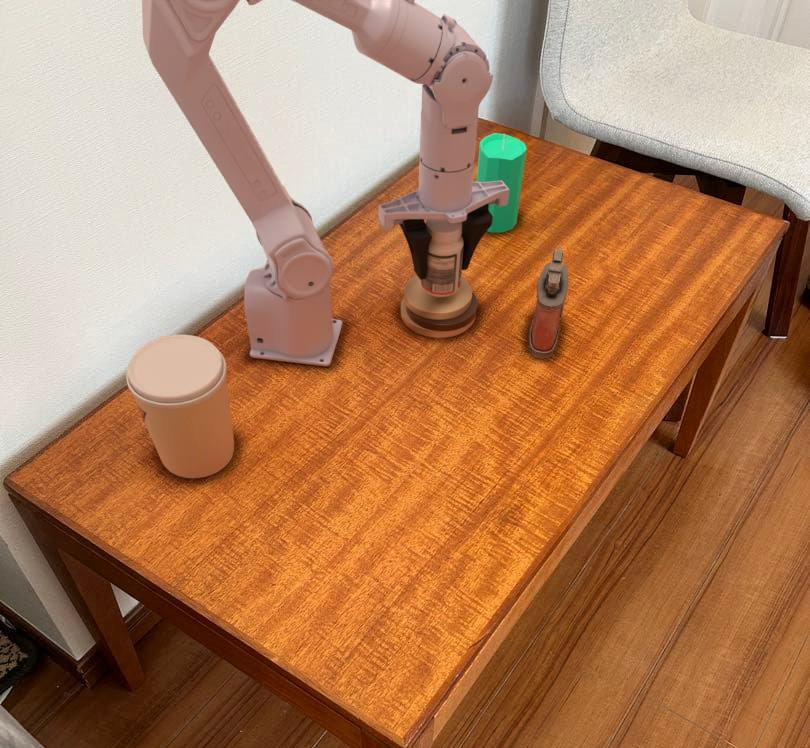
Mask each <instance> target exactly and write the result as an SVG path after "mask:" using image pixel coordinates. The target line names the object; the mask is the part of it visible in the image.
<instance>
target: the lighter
mask: <svg viewBox="0 0 810 748" xmlns="http://www.w3.org/2000/svg"><path fill="white" fill-rule="evenodd" d="M564 254H565V253H564V250H563V249H562V248H555V249H554V250H553V252H552V255H551V262H547V263H546V264H544V266H543V267H542V270H541V272H540V275H539V278H538V282H537V289H536V304H535V308H534V316H533V318H532V321H531V324H530V327H529V333H528V334H529V335H528V344H529V345H528V347H529V352H530V355H532V356H533V357H535V358H539V359H547V358H550V357H551V356H552V355H553V353H554V351H555V348H556V346H557V343H558V338H559V333H560V321H561V319H562V316H563V313H564V308H565V304H566V299H567V298H566V297H567V294H568V290H569V280H570V278H569V271H568V267H567V266H566V265H565V264H563V260H564Z"/></svg>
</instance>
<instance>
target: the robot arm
mask: <svg viewBox="0 0 810 748" xmlns="http://www.w3.org/2000/svg"><path fill="white" fill-rule="evenodd" d="M240 1H241V0H141V13H142V15H141V17H142V19H141V20H142V38H143V42H144V46H145V49H146V51H147V54H148V56H149V59H150V62H151V64H152V66H153V67H154V69H155V71H156V72H157V74H158V76H159V77H160V78H161V81H162V82H163V83H164V85H165V87H166V88H167V90H168V92H169V93H170V95H171V96H172V98H173V99H174V101H175V103H176V104H177V106H178V107H179V109H180V111H181V112H182V114H183V116H184V117H185V118H186V120H187V122H188V123H189V125H190V127H191V128H192V130H193V132H194V133H195V135H196V136H197V138H198V139H199V141H200V142H201V144H202V146H203V148H204V149H205V151H206V152H207V154H208V155H209V157H210V158H211V160H212V162H213V163H214V165H215V166H216V168H217V169H218V171H219V173H220V175H221V176H222V178H223V179H224V181H225V183H226V184H227V186H228V187H229V189H230V190H231V192H232V194H233V195H234V197H235V198H236V200H237V202H238V203H239V205H240V207H241V208H242V209H243V211H244V213H245V215H246V216H247V217H248V219H249V221H250V222H251V224H252V226H253V227H254V230H255V234H256V238H257V240H258V243H260V246H261V247H262V250H263V252H264V254H265V256H266V262H265V264H264V267H262V268H261V267H259V268H252V269H251V270H249V272H248V275H247V277H246V281H245V284H244V293H243V295H244V296H243V306H244V313H245V320H246V327H247V331H248V337H249V338H248V339H249V344H250V350H249V357H251V358H253V359H262V360H268V361H269V360H270V361H276V362H277V361H278V362H287V363H294V364H305V365H311V366H321V367H329V366H330V365H331V363H332V360H333V357H334V353H335V352H336V351H335V350H336V347H337V344H338V341H339V338H340V335H341V331H342V329H343V325H344V324H343V323H344V322H343V320H342V319H338V318H337V319H336V318H333V305H332V304H333V303H332V289H331V281H332V280H333V276H334V273H335V272H334V271H335V267H334V265H335V264H334V260H333V259H332V257H331V255H330V253H329V252H328V251H327V250H326V247H325V246H324V244H323V242H322V240H321V237H320V235H319V233H318V231H317V229H316V227H315V225H314V222H313V217H312V215H311V214H310V211H309V210H308V209H307V207H306V206H304V205H303V204H301V203H300V202H298V201H296V200H295V199H293V197H292V196H291V195H290V194H289V193H288V190H287V188H286V187H285V185H283V183H282V182H281V179H280V178H279V176H278V174H277V173H276V171H275V169H274V168H273V166H272V164H271V162H270V160H269V159H268V156H267V155H266V153H265V152H264V150H263V148H262V146H261V144H260V142H259V141H258V139H257V137H256V136H255V134H254V132H253V130H252V128H251V126H250V125H249V123H248V121H247V120H246V118H245V116H244V113H242V110H241V108H240V107H239V105H238V103H237V101H236V100H235V98H234V96H233V94H232V93H231V91H230V89H229V87H228V85H227V83H226V82H225V80H224V78H223V76H222V75H221V73H220V72H219V70H218V68H217V66H216V64H215V62H214V60H213V58H212V57H211V55H210V51H211V48H212V45H213V42H214V39H215V37H216V34H217V32H218V30H220V28H221V27H222V25H223V24H224V22H225V21H227V19H228V17H229V16H230V15H231V13H233V11H234V10H235V8H236V7H237V6H238V4H239V3H240ZM262 1H263V0H246V3H247V5H249V6H255V5H257V4H258V3H261V2H262ZM291 1H292V2H294V3H296V4H299V5H300V6H302V7H304V8H306V9H308V10H310V11H312V12H314V13H316V14H318V15H320V16H321V17H324V18H326V19H328V20H330V21H332V22H334V23H336V24H338V25H340V26H342V27H344V28H346V29H348V30H350V31H351V34H352V39H353V41H354V42H353V43H354V46H355V49H356V50H357V52H358V53H360V54H361V55H363V56H365V57H366V58H369V59H370V60H373V61H374V62H376V63H378V64H379V65H381V66H383V67H385V68H387V69H389V70H390V71H392V72H394V73H396V74H397V75H399V76H402V77H403V78H405V79H407V80H409V81H410V82H412V83H414V84H418V85H421V109H420V110H421V111H420V129H419V132H420V133H419V161H418V162H419V163H418V165H419V167H418V188H417V189H415V190H413V191H411V192H409V193H407V194H404V195H402V196H401V197H398V198H396V199H394V200H391V201H388V202H386V203H382V204H378V222H379V224H380V225H381V227H382V229H383V230H384V231H385V232H386V231H391V230H393V229H394V228H395V227H394V226H397V225H399V226H400V229H401V231H402V232H403V235H404V237H405V240H406V243H407V246H408V248H409V252H410V255H411V260H412V265H413V271H414V272H415V275H417V276H418V277H419V279H420V280H423V279H426V276H427V256H428V250H429V245H430V242H431V239H432V236H431V234H430V233H429V231H428V230H427V228H426V227H427V224H426V221H425V220H427V219H446V220H447V221H448V222H449V223H458V222H462V234H461V236H462V237H463V241H464V247H463V260H462V271H467V270H468V269H469V266H470V263H471V261H472V259H473V256H474V253H475V251H476V249H477V248H478V244H479V243H480V241H481V240H482V238H483V237H484V235H485V234H486V232H488V231H487V230H488V229H489V228H490V227H491V226H492V220H493V216H492V214H491V213H490V212H489V205H493V204H497V205H498V206H505V205H507V204H508V196H509V188H508V187H507V186H506V185H505V183H504V182H503V181H502V180H500V181H493V182H476V181H474V169H475V159H476V148H477V135H478V124H479V123H478V122H479V111H480V110H479V109H480V105H481V103H482V101H483V100H484V98H485V97H486V96H487V94H488V92H489V91H490V88H491V87H492V84H493V79H494V74H492V73H491V72H490V63H489V60H488V58H487V54H486V53H485V51H483V49H482V47H480V46H479V45H478V44H477V43H476V41H475V40H474V38H473V37H471V35H470V34H469V33H468V32H467V31H466V29H464V28H463V26H461V25H459V24H458V23H457V20H455V18H452V17H450V16H449V15H447V14H445V13H443V14H442V16H441V17H439V16H438V15H436V14H434V13H433V12H432V11H430V10H428V9H427V8H425V7H423V6H422V5H421V4H419V3H417V2H415V1H416V0H291Z"/></svg>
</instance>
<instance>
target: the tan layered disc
mask: <svg viewBox="0 0 810 748" xmlns="http://www.w3.org/2000/svg"><path fill="white" fill-rule="evenodd" d="M478 303H479V302H478V298H477V296H476V294H475V293H474V292H473V289H472V286H471V285H470V283H469V281H467V280H466V279H465V278H464V277H462V276H461V285H460V288H459V290H458V291H457V292H456V293H454V294H452V295H450V296H446V297H436V296H432V295H430V294H428V293H427V292H425V291H424V290H423V288H422V286H421V280H420V279H419V277H418V276H417V274H414V275H413V276H412V277H410V278H409V279H408V280H407V281H406V282H405V284H404V287H403V297H402V299H401V302H400V317H401V320H402V322H403V324H405V326H407V328H408V329H410V331H413V332H414V333H416V334H418V335H421V336H423V337H429V338H435V339H436V338H437V339H444V338H451V337H456V336H458V335H461V334H463V333H465V332H466V331H468V330H470V328H471V327H472V326H473V324H474V323H475V321H476V318H477V316H476V315H477V313H478V305H479V304H478Z"/></svg>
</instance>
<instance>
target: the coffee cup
mask: <svg viewBox="0 0 810 748" xmlns="http://www.w3.org/2000/svg"><path fill="white" fill-rule="evenodd" d="M227 369H228V368H227V361H226V359H225V356H224V355H223V354H222V352H221V351H220V350H219V349H218V348H217V347H216V346H215V344H213V343H212V342H210V341H209V340H207V339H205V338H202V337H200V336H197V335H190V334H171V335H170V334H169V335H166V336H162V337H158V338H155V339H153V340H151V341H148V342H147V343H146V344H144V345H143V346H141V347H140V348H139V349H137V350H136V351H135V352H134V353H133V354H132V357H131V358H130V359H129V362H128V366H127V368H126V374H125V380H126V384H127V387H128V389H129V391H130V393H131V394H132V395H133V398H134V401H135V403H136V406H137V408H138V410H139V413H140V415H141V418H142V420H143V422H144V425H145V427H146V429H147V431H148V434H149V436H150V438H151V441H152V444H153V445H154V449H155V450H156V452H157V454H158V456H159V458H160V461H161V463H162V465H163V466H164V467H165V468H166V470H168V471H169V472H170V473H172V474H173V475H175V476H178V477H181V478H186V479H200V478H201V479H202V478H206V477H209V476H212V475H214V474H217V473H218V472H220V471H221V470H223V469H224V468H225V467H226V466H227V465H228V464H229V462H230V461H231V460H232V457H233V455H234V451H235V439H234V430H233V419H232V410H231V402H230V396H229V395H230V394H229V386H228V378H227V371H228V370H227Z"/></svg>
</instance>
